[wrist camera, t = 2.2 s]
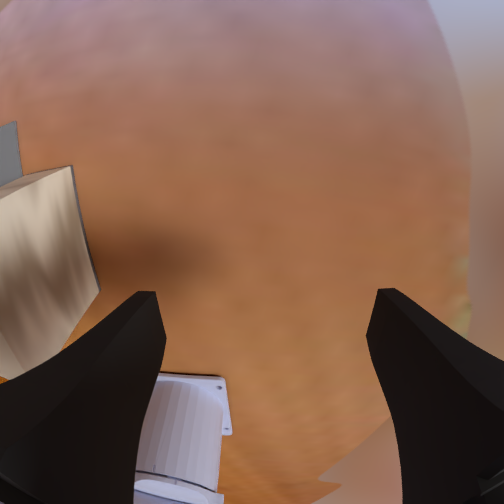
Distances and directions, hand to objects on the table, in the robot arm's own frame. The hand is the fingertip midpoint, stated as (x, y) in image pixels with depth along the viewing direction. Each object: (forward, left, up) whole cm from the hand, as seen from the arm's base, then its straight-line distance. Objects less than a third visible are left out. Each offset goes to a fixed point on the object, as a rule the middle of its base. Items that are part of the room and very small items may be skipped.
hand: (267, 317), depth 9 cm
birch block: (0, +13, -8) cm, 15 cm away
